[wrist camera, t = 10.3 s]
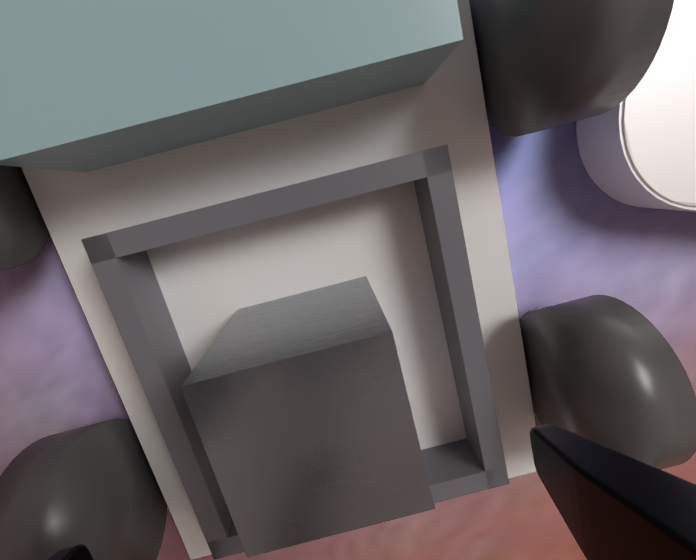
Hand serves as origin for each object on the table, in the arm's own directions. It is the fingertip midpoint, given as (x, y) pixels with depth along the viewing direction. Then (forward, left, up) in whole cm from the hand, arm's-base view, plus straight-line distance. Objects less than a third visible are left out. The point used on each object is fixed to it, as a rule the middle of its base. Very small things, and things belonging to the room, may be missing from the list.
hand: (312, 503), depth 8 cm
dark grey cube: (0, 0, -8) cm, 8 cm away
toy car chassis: (0, +3, -9) cm, 9 cm away
